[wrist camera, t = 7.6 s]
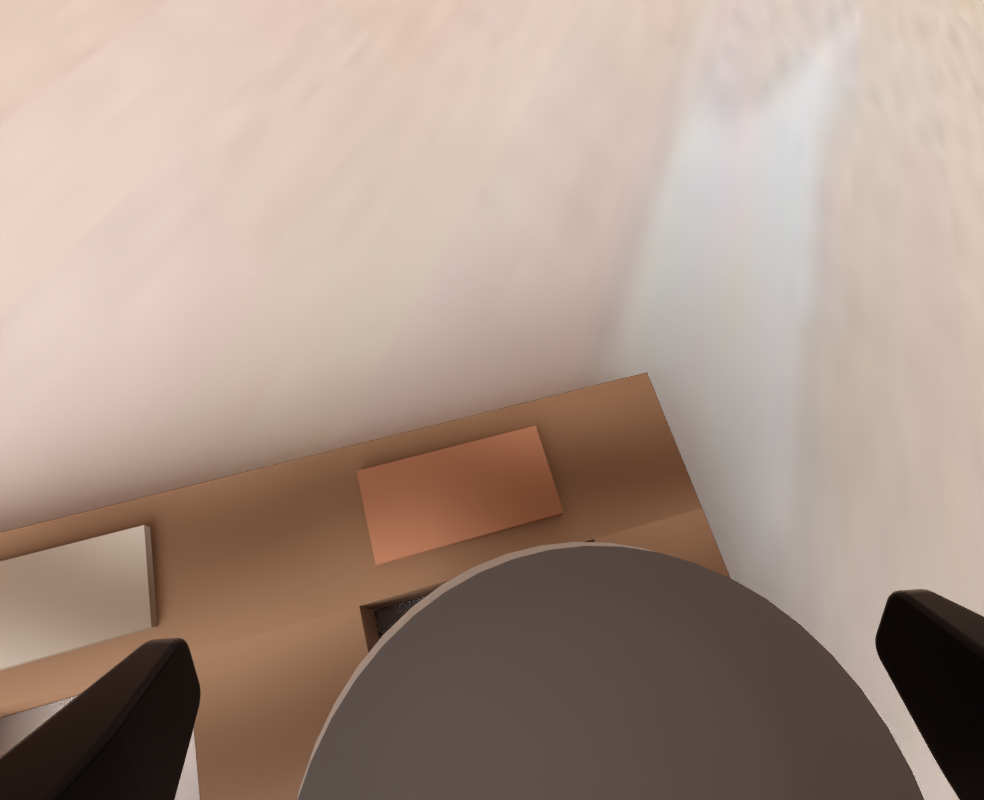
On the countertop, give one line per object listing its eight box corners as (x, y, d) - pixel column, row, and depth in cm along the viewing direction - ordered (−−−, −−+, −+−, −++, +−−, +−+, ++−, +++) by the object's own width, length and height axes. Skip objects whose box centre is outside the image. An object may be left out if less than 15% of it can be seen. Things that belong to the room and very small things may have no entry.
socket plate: (824, 925, 14) (904, 989, 12) (-193, 1337, 11) (-389, 1545, 9) (624, 404, 19) (650, 367, 17) (-129, 595, 16) (-243, 588, 14)
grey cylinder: (627, 723, 16) (1140, 1025, 4) (481, 837, 15) (523, 1768, 3) (530, 572, 17) (673, 428, 5) (390, 666, 16) (144, 770, 4)
